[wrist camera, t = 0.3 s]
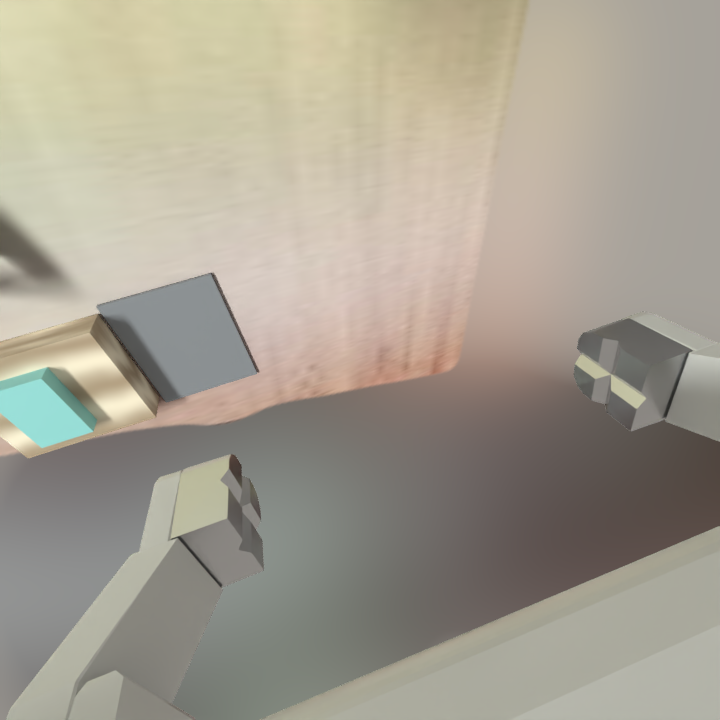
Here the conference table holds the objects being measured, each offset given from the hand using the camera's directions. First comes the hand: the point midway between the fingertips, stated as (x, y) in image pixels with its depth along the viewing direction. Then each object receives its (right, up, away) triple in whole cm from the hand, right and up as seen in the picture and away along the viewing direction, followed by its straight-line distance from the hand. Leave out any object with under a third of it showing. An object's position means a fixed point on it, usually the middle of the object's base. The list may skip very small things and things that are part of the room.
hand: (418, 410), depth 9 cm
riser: (-38, -1, +39) cm, 54 cm away
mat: (-24, +3, +41) cm, 47 cm away
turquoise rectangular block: (-38, -4, +36) cm, 52 cm away
